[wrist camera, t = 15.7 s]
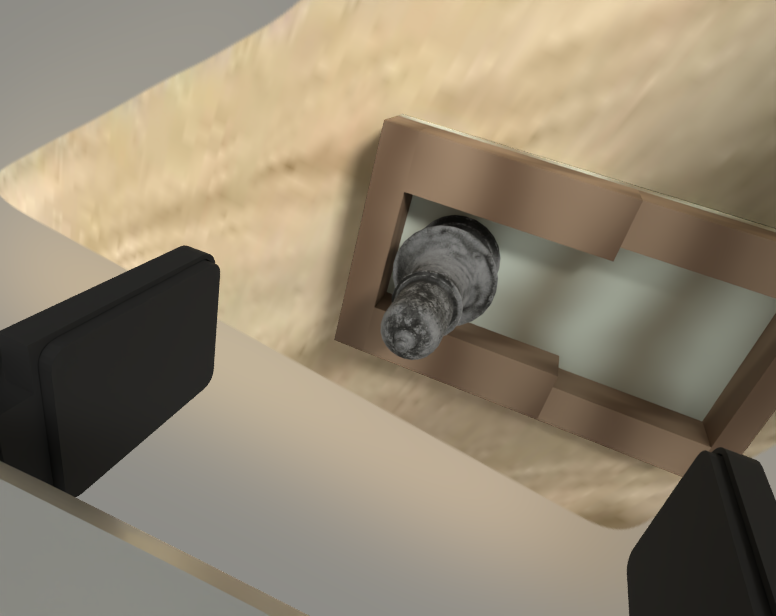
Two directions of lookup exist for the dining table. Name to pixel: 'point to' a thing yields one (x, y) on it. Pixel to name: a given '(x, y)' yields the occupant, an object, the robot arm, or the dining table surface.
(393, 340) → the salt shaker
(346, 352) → the dining table surface
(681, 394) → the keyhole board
